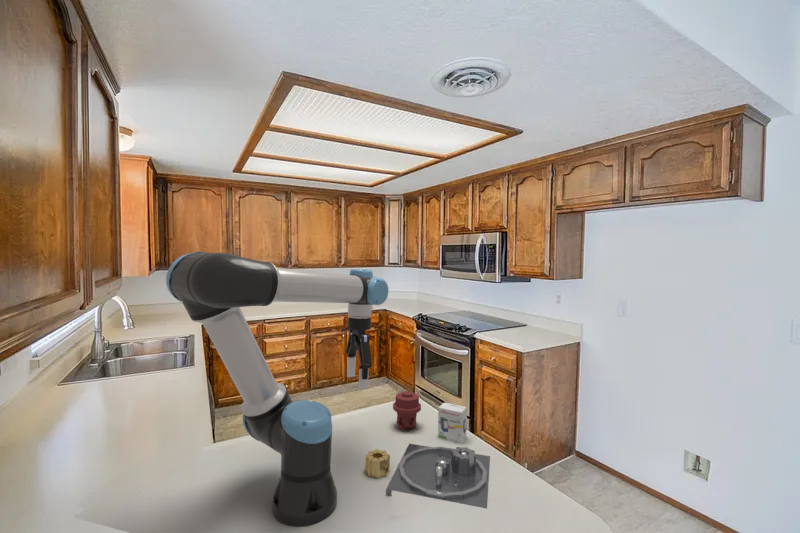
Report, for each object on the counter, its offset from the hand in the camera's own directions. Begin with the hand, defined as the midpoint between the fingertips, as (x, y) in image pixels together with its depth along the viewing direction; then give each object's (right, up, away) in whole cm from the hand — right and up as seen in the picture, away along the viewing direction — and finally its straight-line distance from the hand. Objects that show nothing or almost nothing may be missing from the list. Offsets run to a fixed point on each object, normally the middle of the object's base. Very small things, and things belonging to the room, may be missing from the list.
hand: (356, 382), depth 122 cm
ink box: (+31, -21, +3) cm, 38 cm away
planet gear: (+8, -20, -15) cm, 26 cm away
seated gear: (+32, -19, -15) cm, 40 cm away
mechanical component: (+16, -20, +13) cm, 29 cm away
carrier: (+26, -21, -17) cm, 37 cm away
